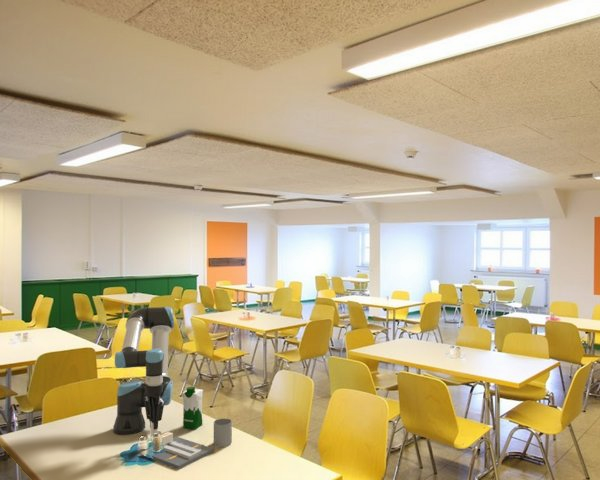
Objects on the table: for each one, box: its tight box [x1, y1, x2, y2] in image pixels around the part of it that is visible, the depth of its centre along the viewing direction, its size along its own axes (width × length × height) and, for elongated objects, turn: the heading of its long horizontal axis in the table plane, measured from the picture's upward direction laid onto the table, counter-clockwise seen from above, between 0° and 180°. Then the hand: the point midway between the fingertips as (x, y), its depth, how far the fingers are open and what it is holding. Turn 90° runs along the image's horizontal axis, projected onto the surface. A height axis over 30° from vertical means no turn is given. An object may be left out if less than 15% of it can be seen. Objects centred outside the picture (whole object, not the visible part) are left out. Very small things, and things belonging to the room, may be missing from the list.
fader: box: [160, 431, 174, 445], centre depth 210 cm, size 3×6×5 cm, turn 146°
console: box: [152, 436, 215, 470], centre depth 206 cm, size 24×20×3 cm
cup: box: [213, 418, 233, 448], centre depth 217 cm, size 8×8×10 cm
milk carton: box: [182, 386, 204, 431], centre depth 238 cm, size 9×9×20 cm
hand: (153, 435), depth 215 cm, fingers closed
